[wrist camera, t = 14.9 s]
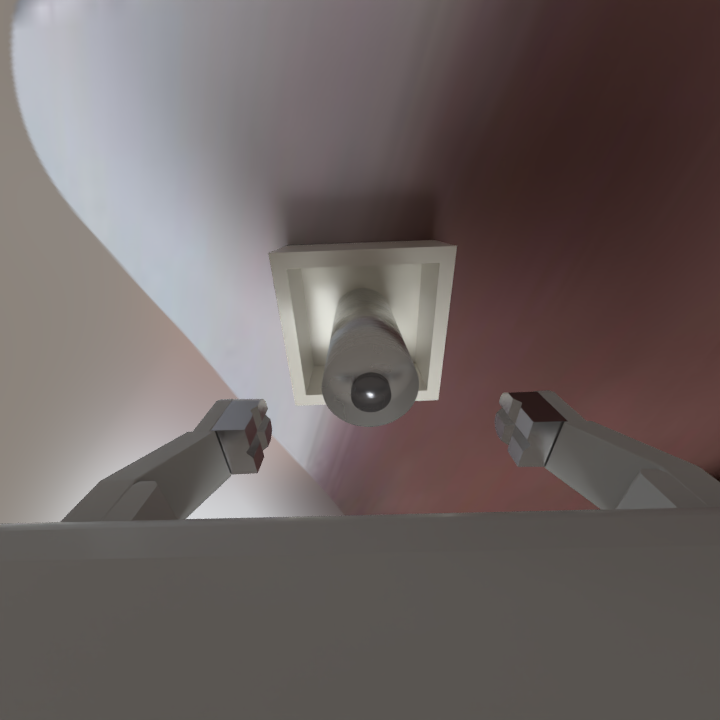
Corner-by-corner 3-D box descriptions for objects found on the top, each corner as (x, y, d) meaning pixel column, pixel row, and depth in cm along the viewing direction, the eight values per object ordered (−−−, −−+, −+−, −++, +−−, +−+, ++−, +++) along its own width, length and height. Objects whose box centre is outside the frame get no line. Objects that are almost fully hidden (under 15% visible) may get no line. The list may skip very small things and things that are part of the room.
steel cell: (391, 286, 19) (426, 348, 10) (390, 340, 20) (418, 432, 12) (333, 289, 19) (315, 352, 10) (337, 342, 20) (325, 436, 12)
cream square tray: (433, 239, 18) (457, 245, 14) (422, 367, 22) (438, 399, 18) (287, 245, 18) (268, 253, 14) (305, 372, 22) (295, 405, 18)
